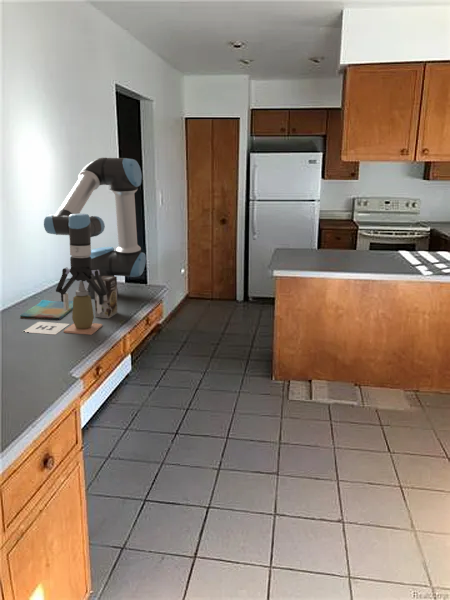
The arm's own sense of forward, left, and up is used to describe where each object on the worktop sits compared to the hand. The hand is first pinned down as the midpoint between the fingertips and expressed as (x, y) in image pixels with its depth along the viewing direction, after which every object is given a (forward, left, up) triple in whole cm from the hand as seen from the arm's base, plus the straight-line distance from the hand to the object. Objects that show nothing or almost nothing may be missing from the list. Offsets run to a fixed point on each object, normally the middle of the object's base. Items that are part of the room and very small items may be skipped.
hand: (82, 311), depth 193 cm
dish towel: (-19, -23, -8) cm, 31 cm away
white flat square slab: (+2, -14, -7) cm, 16 cm away
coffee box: (-20, +2, -7) cm, 21 cm away
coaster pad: (0, 0, -7) cm, 7 cm away
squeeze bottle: (0, 0, -6) cm, 6 cm away
